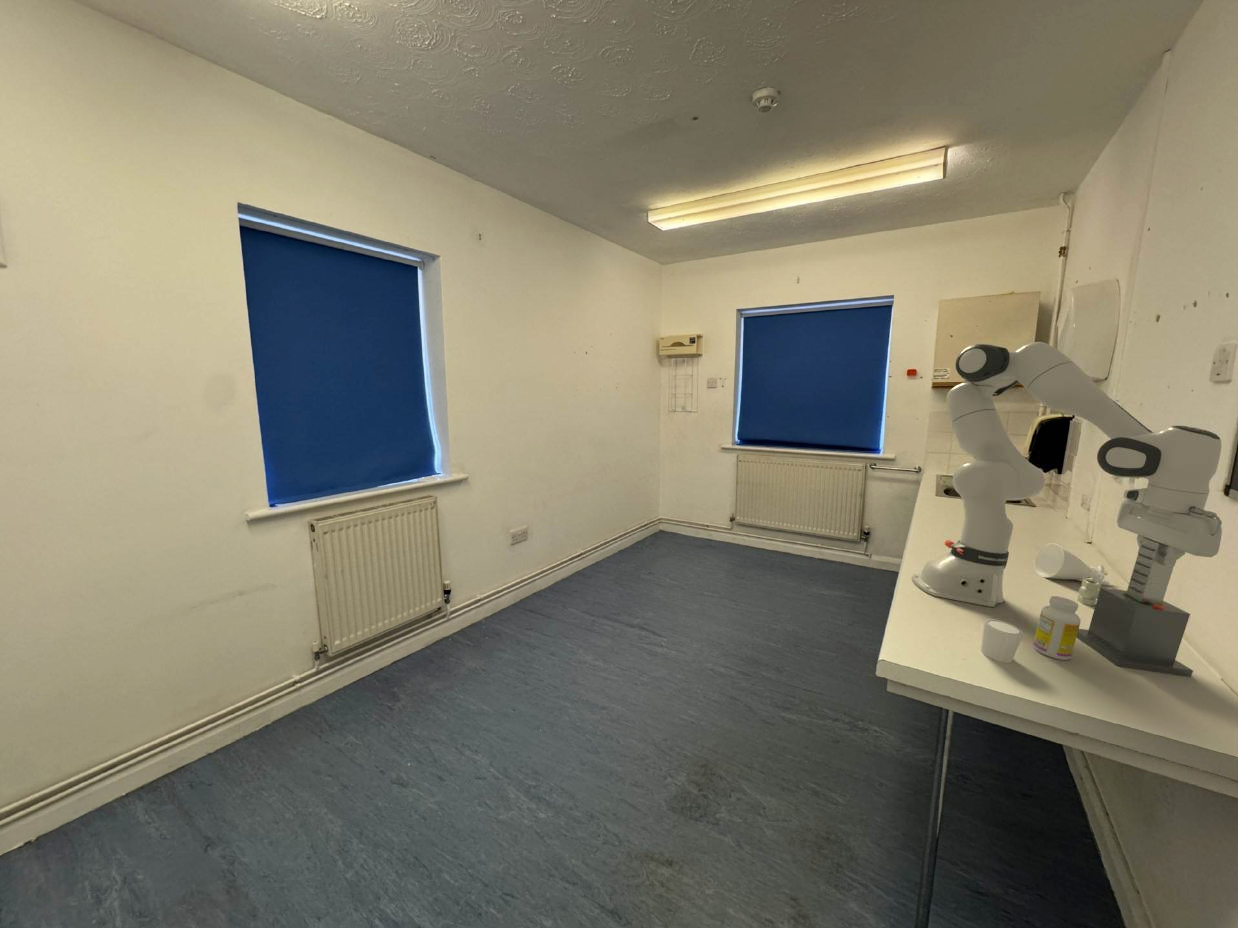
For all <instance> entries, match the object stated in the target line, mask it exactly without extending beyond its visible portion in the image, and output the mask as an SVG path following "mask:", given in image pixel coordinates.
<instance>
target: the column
mask: <svg viewBox="0 0 1238 928" xmlns="http://www.w3.org/2000/svg"><path fill="white" fill-rule="evenodd" d="M1168 547H1169V546H1168V545H1165V544H1162V543H1160V542H1157V541H1154V540H1152V539H1149V538H1143V539H1142V542H1141V546H1140V549H1139V548H1138V550H1139V552H1138V551H1137V555H1136V560H1135V563H1134V565H1133V570H1132V573H1131V576H1130V580H1129V582H1128V586H1127V589H1126V591H1127V592H1126V593H1125V596H1127V597H1129V598H1131V599H1132V600H1134V601H1136V602H1138V603H1140V604H1147V605H1153V604H1154V603H1156V604H1160V605H1163V603H1162V602H1163V601H1164V599H1165V596H1166V592H1167V589H1168V586H1169V583H1170V580H1171V576H1172V573H1173V569H1174V567H1167V566H1164V565H1162V564H1160V563H1159V562H1160V558H1161V556H1164V557H1165V556H1166V555H1167V554H1168V553H1169V552H1170V551H1168Z"/></svg>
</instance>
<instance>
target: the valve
mask: <svg viewBox="0 0 1238 928" xmlns="http://www.w3.org/2000/svg"><path fill="white" fill-rule="evenodd" d="M1087 579H1088V578H1087ZM1087 579H1085V580H1083V581H1081V586H1080V587H1079V589H1078V593H1079V595H1078V597H1077V600H1076V601H1077V602H1078V603H1080V604H1084V605H1086V606H1090V607H1092V606H1094V607H1095V606H1096V602H1097V599H1098V595H1099V592H1100V588H1102V587H1101V586H1102V584H1100V583H1098V582H1096V581H1092V580H1087Z"/></svg>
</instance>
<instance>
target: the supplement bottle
mask: <svg viewBox="0 0 1238 928" xmlns="http://www.w3.org/2000/svg"><path fill="white" fill-rule="evenodd" d="M1078 608H1079V604H1078V603H1077V602H1076V601H1074V600H1071V599H1069V598H1066V597H1062V596H1055V595H1054V596H1053V595H1051V596H1050V599H1049V605H1046V606H1043V607H1042V608H1041V611H1040V614H1039V617H1038V618H1039V619H1038V623H1037V626H1036V631H1035V634H1034V639H1033V643H1032V646H1033V649H1035V650H1036V651H1037V652H1039V653H1040V654H1042V655H1044V656H1047V657H1049V658H1052V659H1055V660H1060V661H1066V660H1067V661H1068V660H1070V659H1071V657H1072V655H1073V651H1074V647H1075V644H1076V640H1077V633H1078V629H1080V625H1081V617H1080V616H1079V615H1078V614H1077V613H1076V611H1078Z"/></svg>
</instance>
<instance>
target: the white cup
mask: <svg viewBox="0 0 1238 928" xmlns="http://www.w3.org/2000/svg"><path fill="white" fill-rule="evenodd" d="M982 627H983V628H982V636H981V647H980V652H981V653H982V654H983V655H984V656H986V657H987V658H989V659H991V660H993V661H996V662H999V663H1004V664H1005V663H1006V664H1009V663H1012V662H1013V660H1014V657H1015V654H1016V652H1017V650H1018V647H1019V645H1020V642H1021V641H1022V638H1023V635H1024V632H1023V630H1022V629H1021V628H1018V627H1017V626H1016V625H1013V624H1011V623H1009V622H1005V621H1002V620H998V619H993V618H992V619H991V618H988V619H985V620H984V621H983V626H982Z"/></svg>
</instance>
